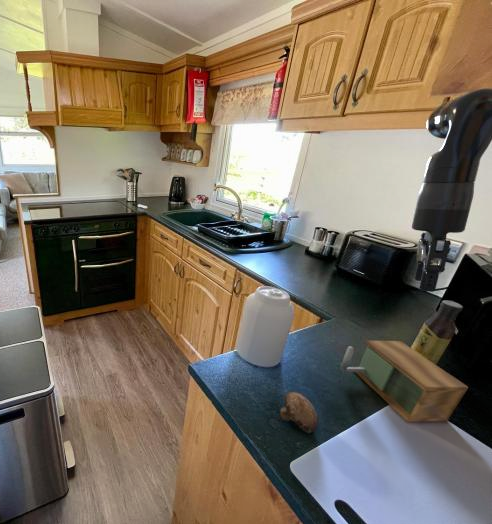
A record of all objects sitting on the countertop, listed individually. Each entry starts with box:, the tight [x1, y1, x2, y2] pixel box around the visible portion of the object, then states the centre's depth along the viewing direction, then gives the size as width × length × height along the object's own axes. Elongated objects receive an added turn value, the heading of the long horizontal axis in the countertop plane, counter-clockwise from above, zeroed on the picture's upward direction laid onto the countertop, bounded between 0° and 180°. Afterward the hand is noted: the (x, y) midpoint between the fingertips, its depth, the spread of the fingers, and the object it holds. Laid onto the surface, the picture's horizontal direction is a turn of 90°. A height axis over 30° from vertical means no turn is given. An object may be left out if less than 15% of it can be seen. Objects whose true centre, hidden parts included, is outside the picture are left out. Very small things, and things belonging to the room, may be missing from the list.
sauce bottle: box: [410, 300, 464, 365], centre depth 81 cm, size 6×6×20 cm
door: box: [339, 346, 395, 391], centre depth 73 cm, size 7×8×8 cm
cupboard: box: [355, 340, 469, 423], centre depth 70 cm, size 10×16×10 cm, turn 4°
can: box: [234, 285, 295, 368], centre depth 80 cm, size 12×12×20 cm
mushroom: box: [279, 391, 319, 434], centre depth 62 cm, size 8×8×6 cm
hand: (423, 285), depth 60 cm, fingers open, 8 cm apart
